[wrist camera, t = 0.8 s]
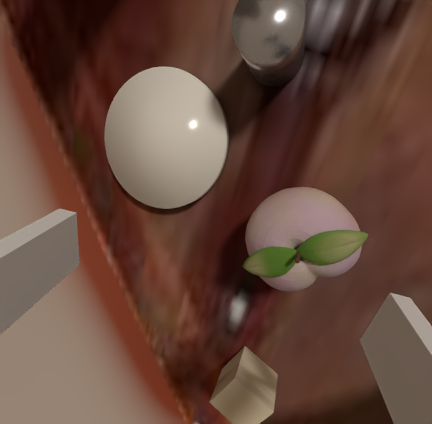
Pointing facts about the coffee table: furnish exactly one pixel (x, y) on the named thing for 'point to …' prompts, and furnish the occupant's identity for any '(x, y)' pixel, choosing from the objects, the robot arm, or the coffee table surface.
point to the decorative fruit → (301, 239)
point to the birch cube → (245, 389)
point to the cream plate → (166, 137)
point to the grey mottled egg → (270, 38)
